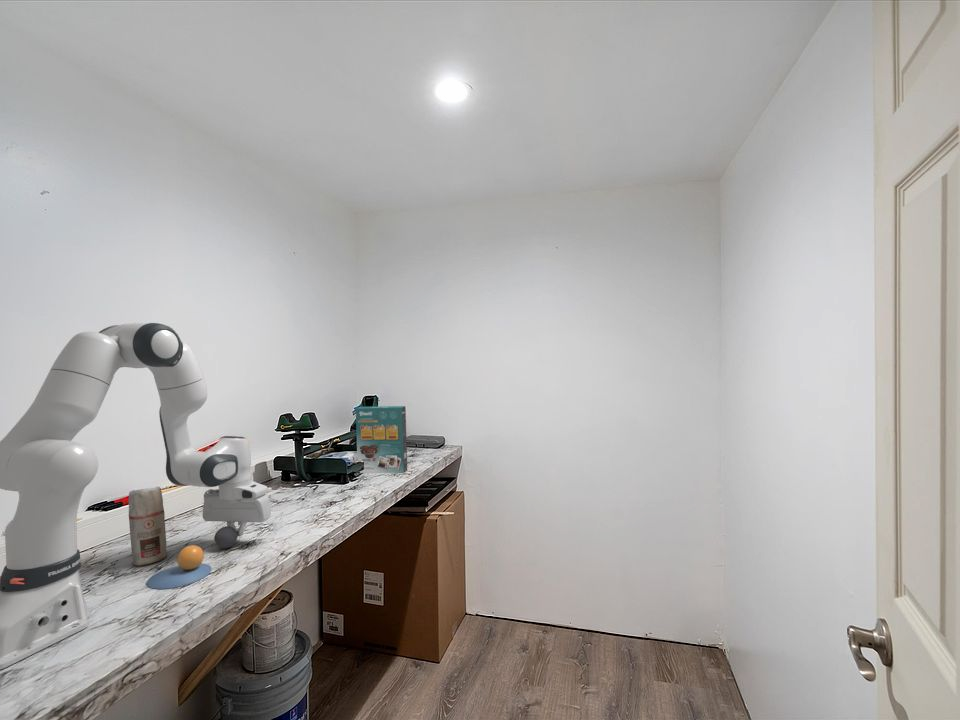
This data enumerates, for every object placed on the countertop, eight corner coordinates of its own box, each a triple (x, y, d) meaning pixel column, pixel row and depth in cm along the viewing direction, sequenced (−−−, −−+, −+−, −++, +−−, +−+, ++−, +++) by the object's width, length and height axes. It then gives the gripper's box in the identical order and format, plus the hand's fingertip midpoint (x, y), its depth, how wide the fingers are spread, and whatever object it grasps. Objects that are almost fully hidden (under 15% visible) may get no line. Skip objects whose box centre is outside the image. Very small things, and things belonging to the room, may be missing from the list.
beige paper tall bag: (125, 568, 130) (121, 493, 130) (137, 556, 138) (134, 485, 138) (161, 564, 132) (158, 490, 132) (171, 552, 140) (168, 482, 140)
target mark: (184, 590, 117) (184, 589, 117) (132, 587, 119) (132, 587, 119) (223, 564, 131) (223, 564, 131) (176, 563, 133) (175, 562, 133)
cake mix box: (407, 470, 231) (405, 406, 230) (403, 473, 225) (401, 407, 224) (362, 469, 234) (360, 406, 233) (357, 473, 228) (355, 408, 227)
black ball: (244, 530, 146) (236, 551, 143) (226, 530, 147) (218, 550, 143) (234, 523, 142) (225, 544, 138) (215, 523, 142) (206, 544, 139)
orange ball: (211, 546, 132) (205, 571, 130) (191, 545, 133) (184, 570, 131) (196, 544, 127) (190, 570, 124) (175, 544, 128) (168, 569, 125)
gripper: (196, 492, 146) (198, 538, 146) (260, 493, 143) (262, 540, 143) (211, 486, 152) (212, 530, 152) (272, 487, 149) (274, 532, 149)
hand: (237, 535), depth 148 cm, fingers closed
